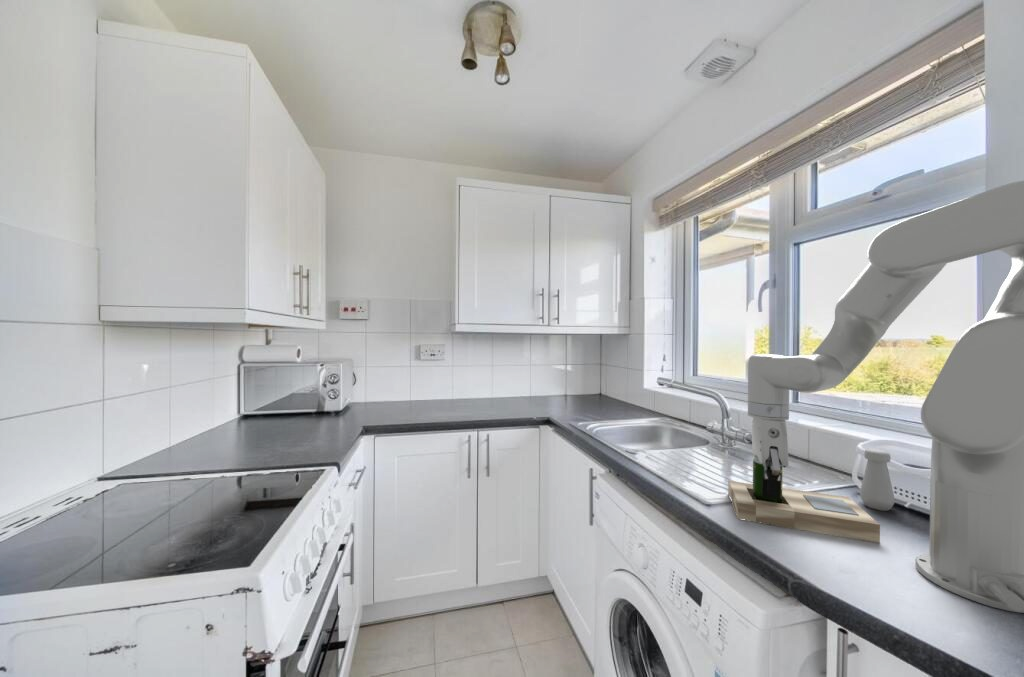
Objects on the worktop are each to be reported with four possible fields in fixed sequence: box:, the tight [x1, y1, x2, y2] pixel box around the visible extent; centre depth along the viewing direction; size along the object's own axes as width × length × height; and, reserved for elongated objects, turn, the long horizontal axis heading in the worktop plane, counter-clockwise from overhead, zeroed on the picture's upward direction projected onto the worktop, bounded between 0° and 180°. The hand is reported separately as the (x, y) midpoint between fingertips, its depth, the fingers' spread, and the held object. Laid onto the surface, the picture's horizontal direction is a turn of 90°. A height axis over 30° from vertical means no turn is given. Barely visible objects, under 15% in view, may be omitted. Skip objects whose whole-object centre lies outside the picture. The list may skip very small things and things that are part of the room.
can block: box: [727, 480, 881, 544], centre depth 80 cm, size 13×23×4 cm, turn 67°
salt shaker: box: [859, 448, 896, 512], centre depth 84 cm, size 6×6×13 cm
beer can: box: [752, 454, 784, 504], centre depth 82 cm, size 5×5×12 cm
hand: (767, 491), depth 82 cm, fingers closed on beer can, 5 cm apart
